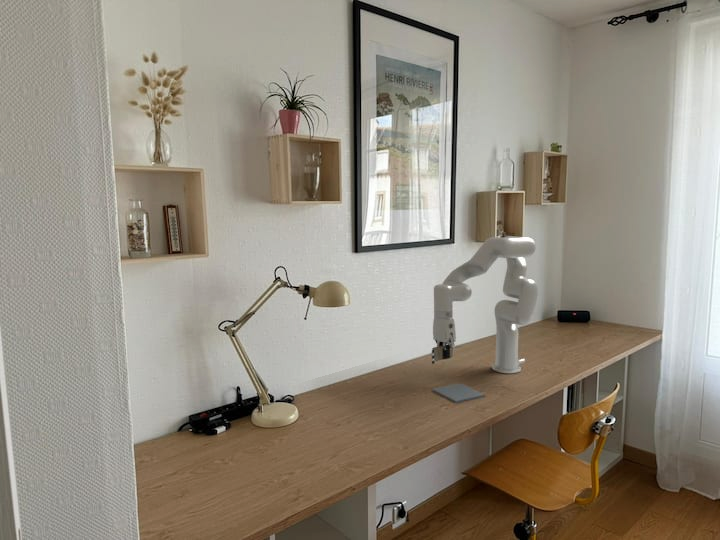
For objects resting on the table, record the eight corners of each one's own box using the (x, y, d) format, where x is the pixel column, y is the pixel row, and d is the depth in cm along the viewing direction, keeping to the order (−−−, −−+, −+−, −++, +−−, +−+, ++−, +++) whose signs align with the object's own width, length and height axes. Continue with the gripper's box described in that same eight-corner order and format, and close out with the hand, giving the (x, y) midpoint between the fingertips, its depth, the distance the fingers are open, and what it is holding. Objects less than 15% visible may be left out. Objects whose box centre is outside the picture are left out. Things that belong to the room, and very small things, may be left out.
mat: (460, 384, 209) (460, 382, 209) (484, 396, 196) (485, 394, 196) (432, 390, 202) (432, 388, 202) (456, 403, 189) (456, 401, 189)
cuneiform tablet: (431, 350, 204) (455, 345, 210) (426, 348, 207) (449, 343, 213) (432, 364, 205) (455, 358, 210) (426, 361, 208) (449, 356, 214)
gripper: (463, 316, 203) (463, 361, 205) (438, 309, 217) (439, 351, 219) (448, 319, 199) (448, 364, 202) (424, 312, 213) (425, 354, 216)
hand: (443, 357), depth 211 cm, fingers closed on cuneiform tablet, 2 cm apart
